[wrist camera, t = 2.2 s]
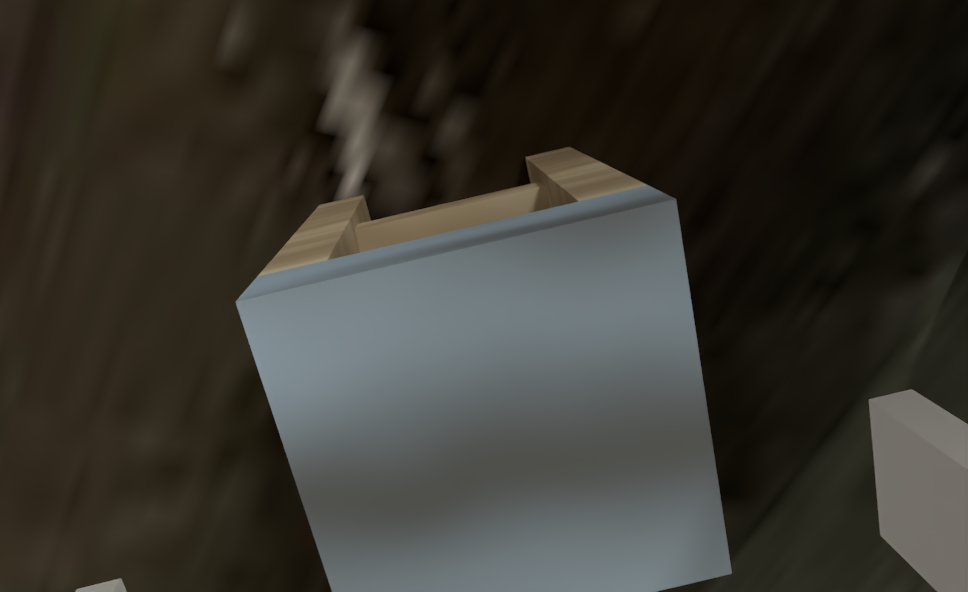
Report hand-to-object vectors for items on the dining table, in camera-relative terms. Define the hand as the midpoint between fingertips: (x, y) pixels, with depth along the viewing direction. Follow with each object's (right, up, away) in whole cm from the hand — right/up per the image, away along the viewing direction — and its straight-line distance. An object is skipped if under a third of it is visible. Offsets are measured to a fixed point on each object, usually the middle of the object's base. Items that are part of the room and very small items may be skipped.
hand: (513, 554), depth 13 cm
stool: (-1, +5, +15) cm, 15 cm away
